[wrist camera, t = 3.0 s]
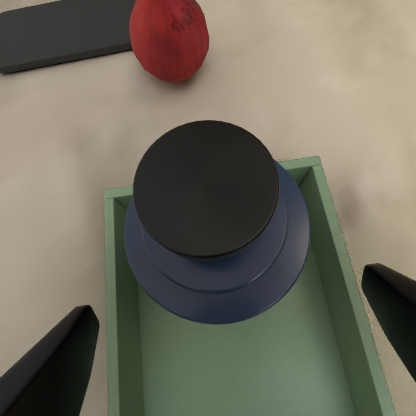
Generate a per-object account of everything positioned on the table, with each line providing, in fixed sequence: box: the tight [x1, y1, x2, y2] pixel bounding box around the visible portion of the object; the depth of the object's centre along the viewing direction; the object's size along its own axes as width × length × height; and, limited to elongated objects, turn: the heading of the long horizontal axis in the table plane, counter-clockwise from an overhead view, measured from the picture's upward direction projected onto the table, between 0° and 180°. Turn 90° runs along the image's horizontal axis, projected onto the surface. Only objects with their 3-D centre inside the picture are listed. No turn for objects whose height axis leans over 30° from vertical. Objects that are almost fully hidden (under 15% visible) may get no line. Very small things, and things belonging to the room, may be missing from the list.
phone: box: [0, 0, 136, 73], centre depth 25 cm, size 7×1×15 cm
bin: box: [104, 156, 396, 416], centre depth 15 cm, size 17×13×4 cm
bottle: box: [124, 120, 311, 325], centre depth 11 cm, size 6×6×13 cm
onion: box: [129, 0, 209, 82], centre depth 19 cm, size 6×6×8 cm
